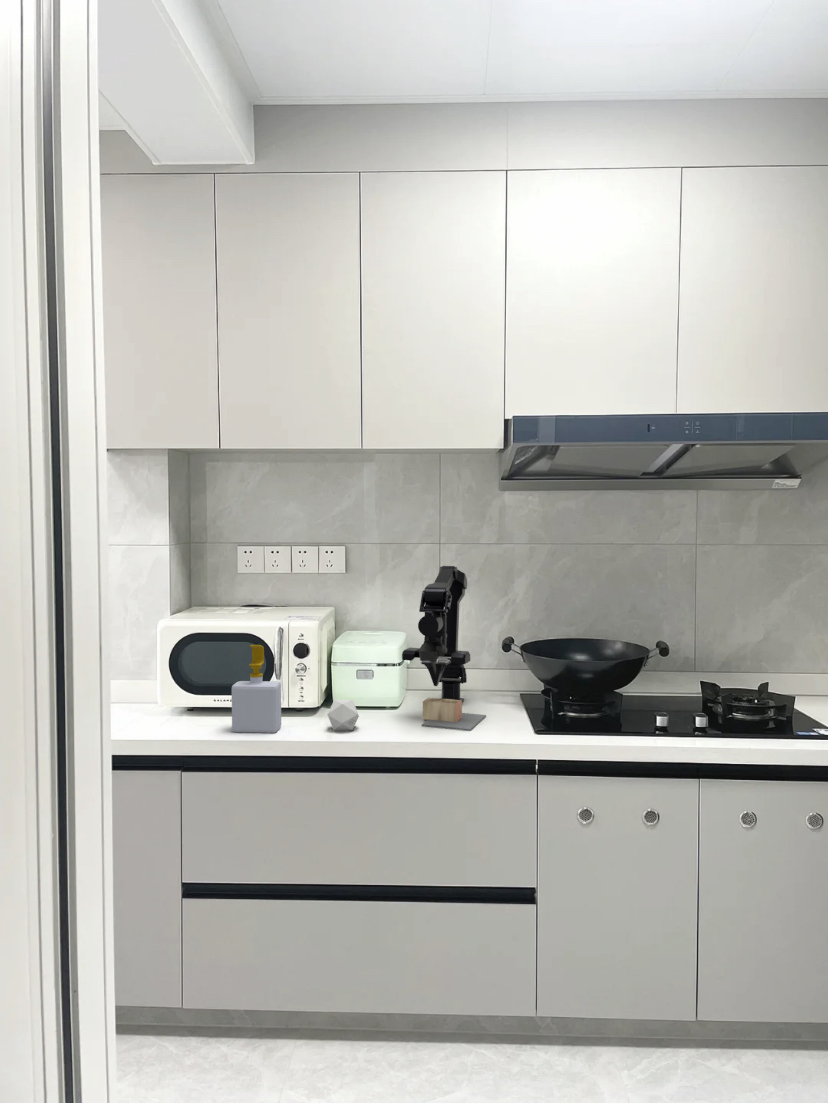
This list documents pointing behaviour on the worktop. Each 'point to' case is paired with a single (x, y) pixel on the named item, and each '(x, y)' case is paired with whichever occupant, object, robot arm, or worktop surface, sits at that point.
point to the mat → (464, 723)
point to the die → (343, 715)
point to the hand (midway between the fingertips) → (435, 685)
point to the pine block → (442, 709)
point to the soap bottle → (256, 700)
